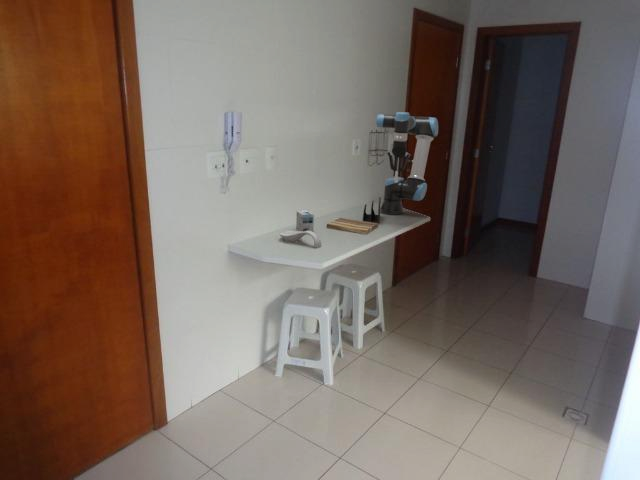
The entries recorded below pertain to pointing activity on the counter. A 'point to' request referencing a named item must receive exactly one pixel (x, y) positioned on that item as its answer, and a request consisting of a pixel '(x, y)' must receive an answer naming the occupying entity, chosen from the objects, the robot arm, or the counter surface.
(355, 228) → the oak plank
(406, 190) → the robot arm
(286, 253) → the counter surface
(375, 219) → the letter holder
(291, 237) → the white curved piece
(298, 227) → the light bulb box
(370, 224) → the walnut board
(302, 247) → the counter surface
